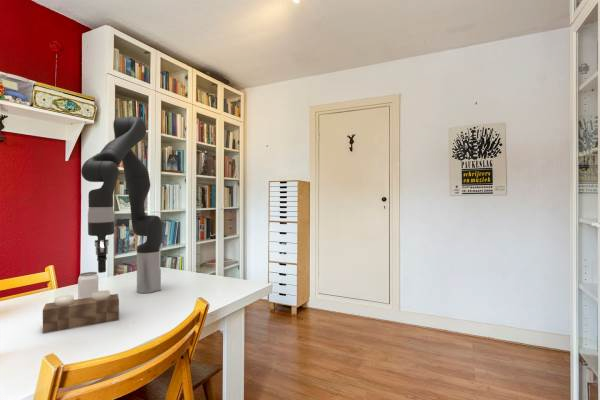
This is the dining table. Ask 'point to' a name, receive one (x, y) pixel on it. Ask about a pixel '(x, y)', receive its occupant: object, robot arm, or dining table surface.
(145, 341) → the dining table surface
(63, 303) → the knob
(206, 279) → the dining table surface
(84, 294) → the can
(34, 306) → the dining table surface
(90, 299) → the mount
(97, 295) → the knob
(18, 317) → the dining table surface
